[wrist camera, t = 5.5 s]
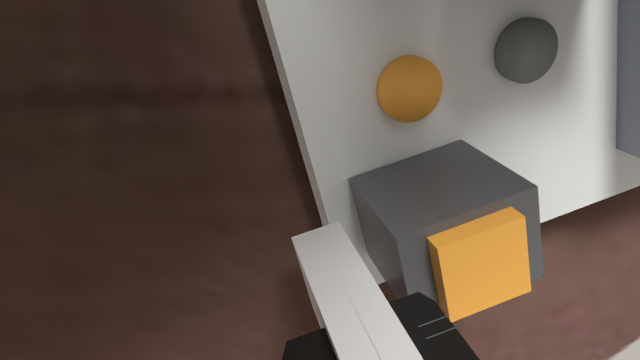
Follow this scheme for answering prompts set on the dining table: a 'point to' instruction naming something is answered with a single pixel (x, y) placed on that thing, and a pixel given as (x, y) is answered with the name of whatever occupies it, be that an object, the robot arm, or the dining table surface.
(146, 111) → the dining table surface
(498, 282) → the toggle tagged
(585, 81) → the panel
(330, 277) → the robot arm
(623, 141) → the frame
